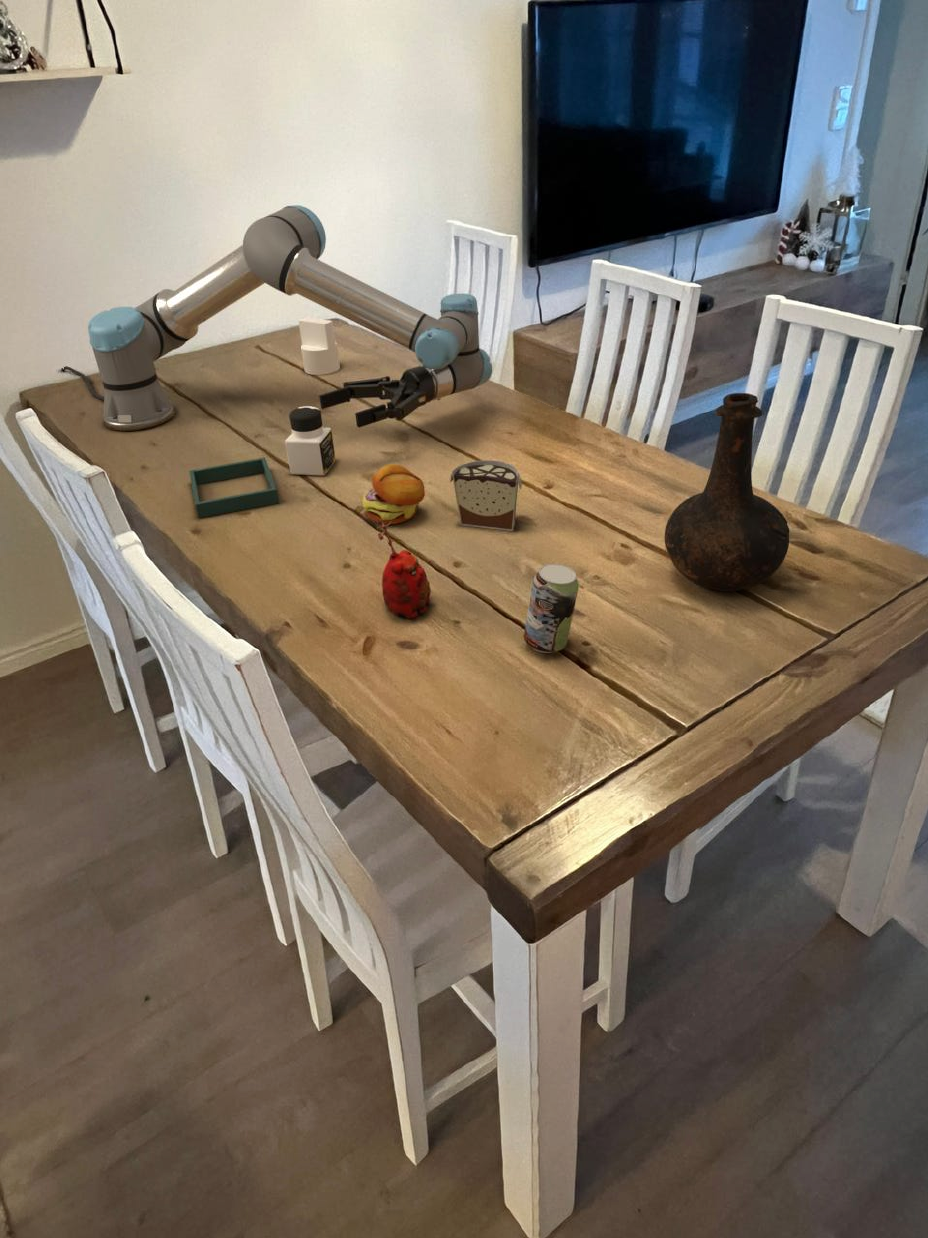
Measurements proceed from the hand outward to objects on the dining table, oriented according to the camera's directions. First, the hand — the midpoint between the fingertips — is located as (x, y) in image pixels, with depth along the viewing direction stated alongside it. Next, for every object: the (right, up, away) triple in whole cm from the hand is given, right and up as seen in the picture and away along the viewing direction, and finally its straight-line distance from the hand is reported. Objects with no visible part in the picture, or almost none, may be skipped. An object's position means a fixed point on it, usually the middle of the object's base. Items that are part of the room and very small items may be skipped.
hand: (338, 411), depth 177 cm
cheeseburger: (+12, -22, -16) cm, 30 cm away
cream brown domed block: (+29, -24, -20) cm, 43 cm away
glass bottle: (+64, -34, -39) cm, 82 cm away
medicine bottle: (-5, -11, +2) cm, 12 cm away
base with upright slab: (-11, +22, +52) cm, 58 cm away
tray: (-19, -17, -6) cm, 26 cm away
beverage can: (+37, -44, -51) cm, 77 cm away
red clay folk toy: (+16, -39, -42) cm, 59 cm away
